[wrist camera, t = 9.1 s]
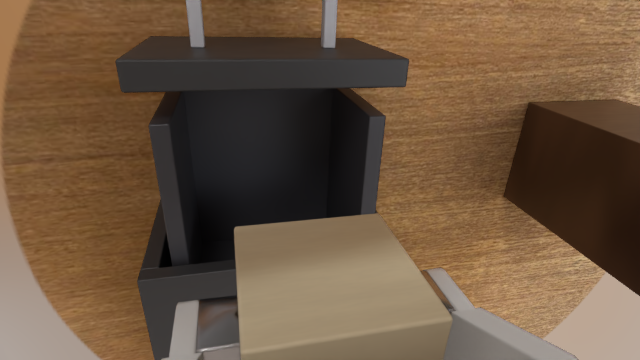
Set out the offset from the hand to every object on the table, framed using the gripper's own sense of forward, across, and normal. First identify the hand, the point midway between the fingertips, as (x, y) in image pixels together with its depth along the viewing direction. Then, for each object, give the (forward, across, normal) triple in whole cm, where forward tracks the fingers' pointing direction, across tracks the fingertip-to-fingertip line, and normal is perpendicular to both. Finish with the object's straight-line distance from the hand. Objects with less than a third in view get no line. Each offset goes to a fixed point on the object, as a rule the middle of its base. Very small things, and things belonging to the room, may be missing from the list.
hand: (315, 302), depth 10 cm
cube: (+1, 0, 0) cm, 1 cm away
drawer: (+16, 0, 0) cm, 16 cm away
